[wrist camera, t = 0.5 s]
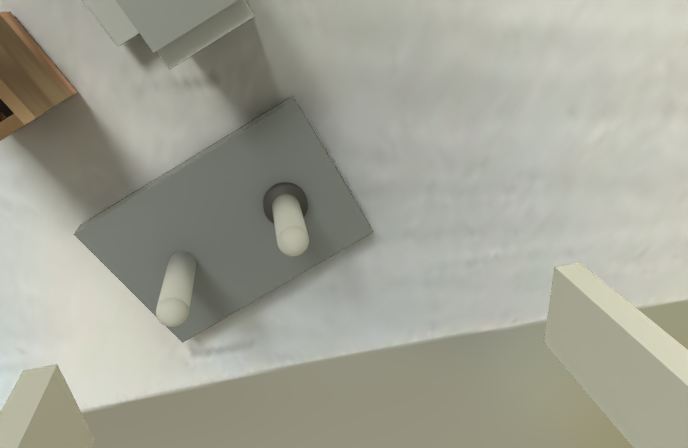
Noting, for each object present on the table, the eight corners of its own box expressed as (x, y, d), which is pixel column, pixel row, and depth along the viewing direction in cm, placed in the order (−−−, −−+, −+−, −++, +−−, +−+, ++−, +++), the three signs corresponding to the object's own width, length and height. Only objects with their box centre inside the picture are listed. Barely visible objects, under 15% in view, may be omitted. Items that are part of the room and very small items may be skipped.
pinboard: (80, 224, 34) (35, 290, 27) (292, 96, 33) (308, 126, 26) (184, 330, 40) (171, 409, 33) (368, 223, 39) (399, 279, 31)
